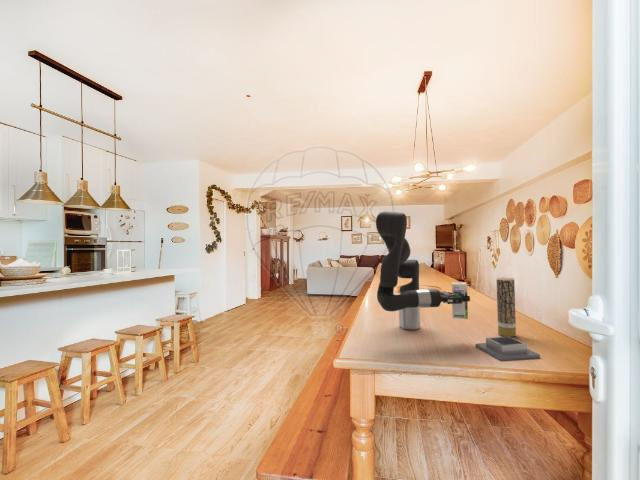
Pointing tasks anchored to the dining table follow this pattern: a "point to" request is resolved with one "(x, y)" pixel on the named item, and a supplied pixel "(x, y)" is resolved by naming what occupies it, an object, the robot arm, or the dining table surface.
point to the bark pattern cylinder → (506, 306)
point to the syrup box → (458, 309)
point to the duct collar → (506, 348)
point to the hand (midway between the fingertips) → (464, 296)
